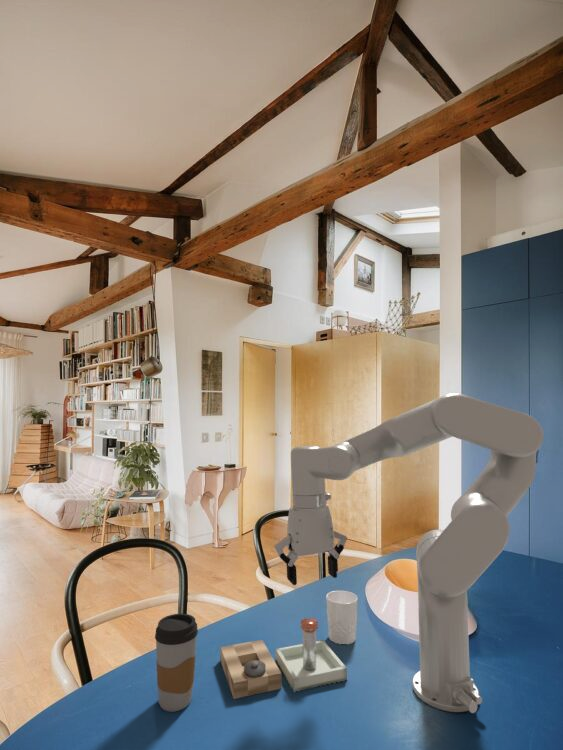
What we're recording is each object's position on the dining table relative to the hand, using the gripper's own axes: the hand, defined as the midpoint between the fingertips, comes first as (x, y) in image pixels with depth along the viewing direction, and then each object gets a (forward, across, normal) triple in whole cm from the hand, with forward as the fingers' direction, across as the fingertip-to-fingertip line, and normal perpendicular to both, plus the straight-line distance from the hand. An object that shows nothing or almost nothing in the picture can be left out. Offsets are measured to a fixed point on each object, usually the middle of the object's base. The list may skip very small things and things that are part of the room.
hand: (313, 579), depth 97 cm
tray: (+19, +1, -1) cm, 19 cm away
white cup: (+20, -12, -11) cm, 25 cm away
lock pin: (+19, +1, -1) cm, 19 cm away
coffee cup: (+18, +30, 0) cm, 36 cm away
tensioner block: (+19, +14, -4) cm, 24 cm away
